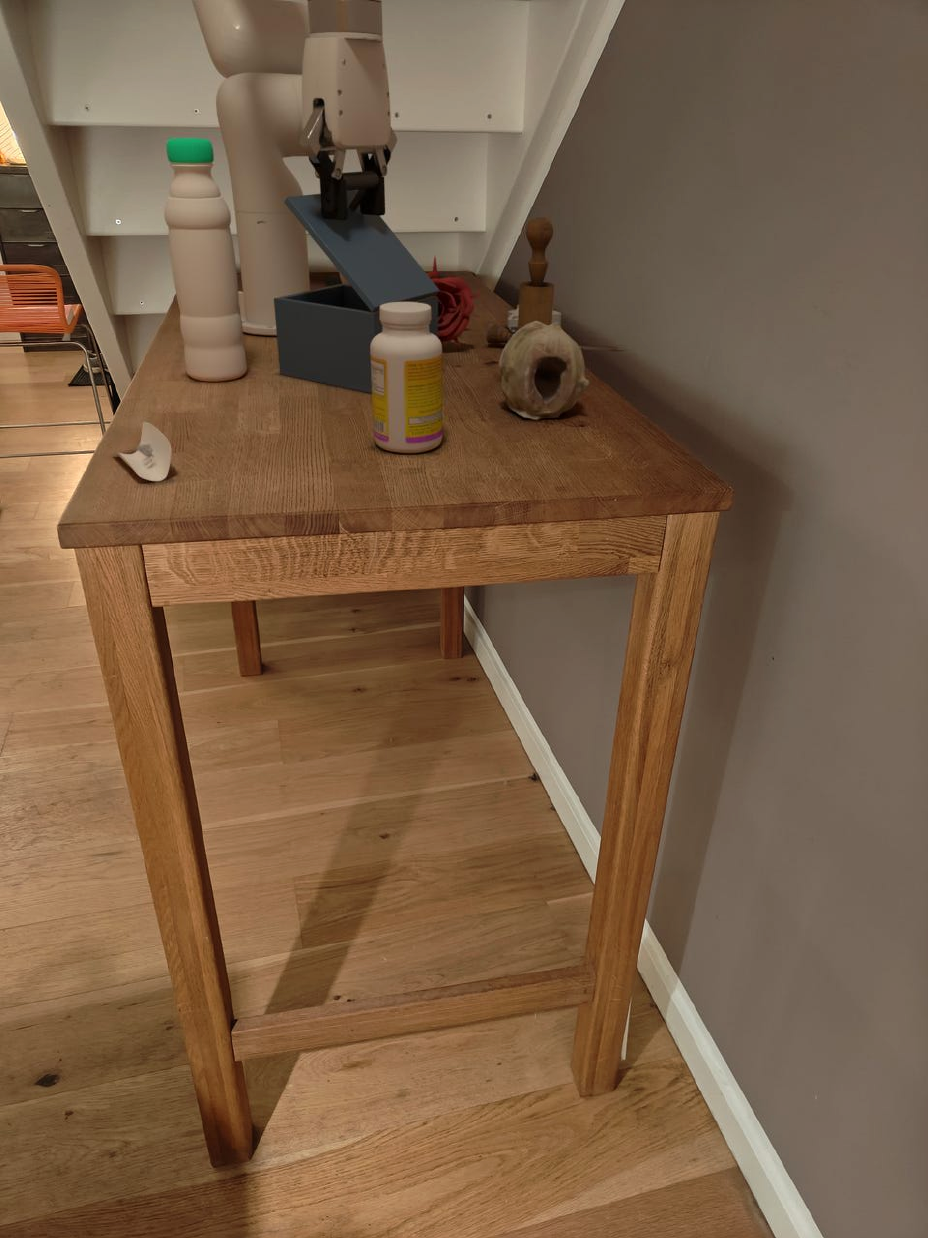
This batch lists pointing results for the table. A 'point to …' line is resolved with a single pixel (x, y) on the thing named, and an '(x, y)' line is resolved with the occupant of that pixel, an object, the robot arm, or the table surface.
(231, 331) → the water bottle
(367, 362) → the chest
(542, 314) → the mortar and pestle
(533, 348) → the cream hollow lumpy ball
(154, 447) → the white curved plate
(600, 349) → the machete
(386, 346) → the supplement bottle
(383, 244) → the lid
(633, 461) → the table surface
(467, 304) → the flower
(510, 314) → the zipper pull
